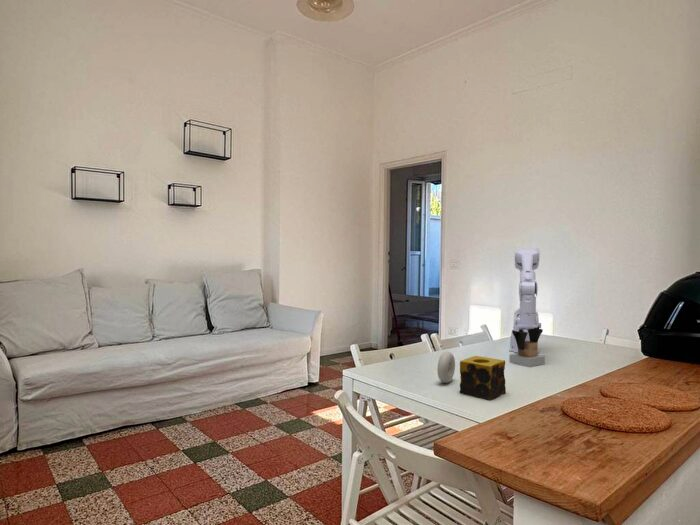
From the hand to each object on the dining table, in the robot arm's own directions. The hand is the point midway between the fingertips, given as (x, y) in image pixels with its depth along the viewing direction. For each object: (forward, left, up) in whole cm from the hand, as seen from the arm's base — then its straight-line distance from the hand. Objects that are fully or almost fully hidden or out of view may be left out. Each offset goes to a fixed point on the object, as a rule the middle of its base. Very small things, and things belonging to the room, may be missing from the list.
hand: (527, 348), depth 174 cm
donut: (+2, -45, -6) cm, 45 cm away
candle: (+16, -44, -6) cm, 47 cm away
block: (0, 0, -3) cm, 3 cm away
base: (0, 0, -6) cm, 6 cm away
